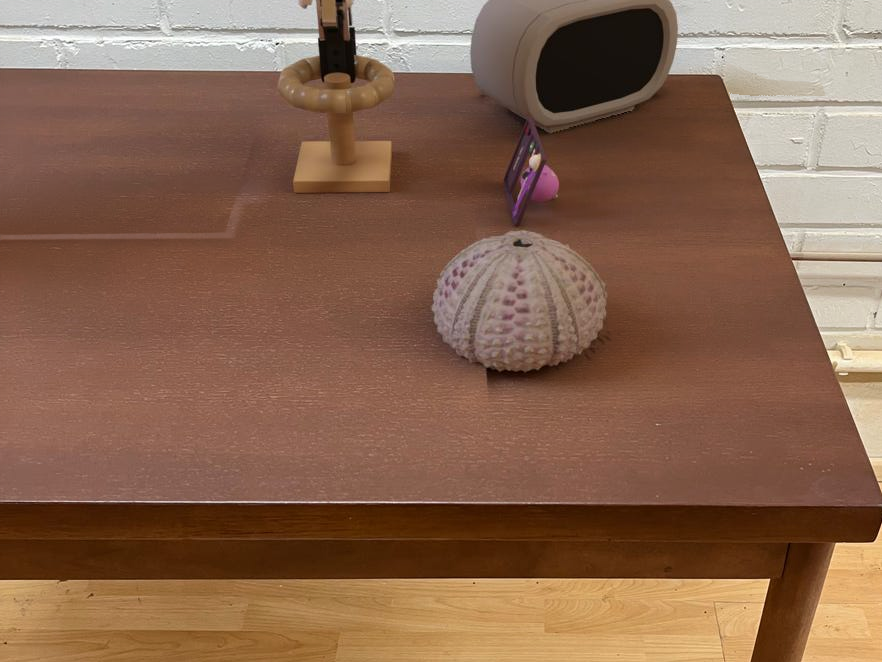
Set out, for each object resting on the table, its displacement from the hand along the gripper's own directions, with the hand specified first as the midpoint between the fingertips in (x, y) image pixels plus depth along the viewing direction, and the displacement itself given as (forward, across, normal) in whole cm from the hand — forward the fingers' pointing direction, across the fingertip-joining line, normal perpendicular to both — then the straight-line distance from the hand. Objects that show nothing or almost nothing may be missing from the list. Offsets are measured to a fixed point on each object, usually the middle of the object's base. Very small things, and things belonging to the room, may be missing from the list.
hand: (339, 74), depth 97 cm
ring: (-1, +4, 0) cm, 4 cm away
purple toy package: (+8, +11, +18) cm, 23 cm away
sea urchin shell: (+8, +33, +15) cm, 37 cm away
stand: (+8, +4, 0) cm, 9 cm away
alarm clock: (+8, -11, +24) cm, 28 cm away
